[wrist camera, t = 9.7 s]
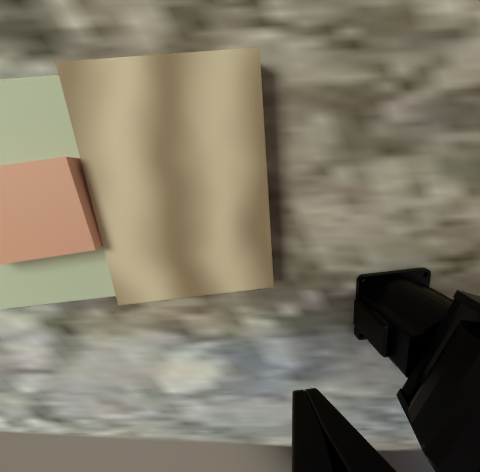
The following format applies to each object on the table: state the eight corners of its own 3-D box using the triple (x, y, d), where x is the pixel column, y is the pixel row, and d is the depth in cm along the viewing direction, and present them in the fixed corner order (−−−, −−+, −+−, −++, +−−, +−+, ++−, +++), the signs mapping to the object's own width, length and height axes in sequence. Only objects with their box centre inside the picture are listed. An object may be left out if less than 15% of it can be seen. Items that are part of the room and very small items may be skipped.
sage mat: (69, 77, 15) (64, 74, 15) (122, 293, 19) (120, 295, 19) (-90, 89, 15) (-98, 86, 14) (0, 307, 19) (-5, 309, 19)
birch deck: (255, 63, 16) (259, 47, 14) (269, 276, 20) (273, 287, 18) (76, 76, 15) (55, 61, 13) (128, 292, 19) (118, 305, 17)
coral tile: (89, 159, 16) (65, 156, 14) (113, 240, 18) (95, 250, 15) (-41, 177, 16) (-88, 177, 14) (-6, 257, 17) (-42, 270, 15)
